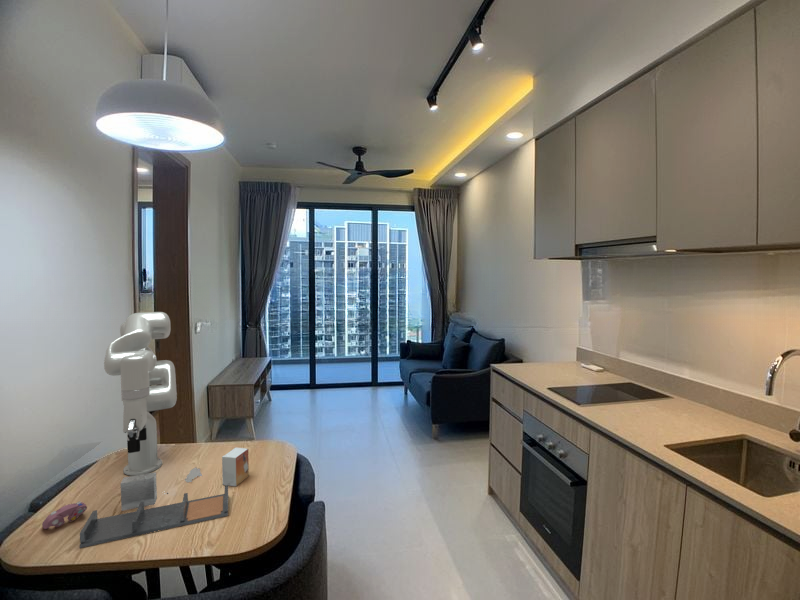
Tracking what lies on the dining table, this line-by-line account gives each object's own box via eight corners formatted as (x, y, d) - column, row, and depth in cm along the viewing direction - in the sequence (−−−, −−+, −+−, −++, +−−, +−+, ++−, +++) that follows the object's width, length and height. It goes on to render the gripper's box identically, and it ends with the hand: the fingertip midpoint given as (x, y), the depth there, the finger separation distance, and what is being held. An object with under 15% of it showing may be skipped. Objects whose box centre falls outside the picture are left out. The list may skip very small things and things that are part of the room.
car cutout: (193, 474, 147) (193, 462, 147) (207, 477, 145) (207, 465, 145) (158, 495, 133) (157, 482, 132) (173, 499, 131) (172, 486, 130)
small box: (236, 487, 137) (235, 458, 137) (222, 485, 138) (221, 456, 138) (249, 475, 145) (248, 448, 145) (235, 474, 146) (235, 446, 146)
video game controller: (45, 538, 112) (48, 520, 110) (40, 526, 114) (43, 509, 112) (86, 520, 121) (90, 503, 119) (81, 509, 123) (84, 493, 121)
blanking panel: (124, 504, 127) (123, 477, 126) (156, 498, 130) (156, 472, 130) (121, 511, 123) (120, 483, 122) (154, 504, 127) (153, 477, 126)
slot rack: (94, 522, 117) (93, 509, 117) (228, 495, 132) (228, 484, 131) (79, 548, 106) (79, 534, 106) (227, 515, 121) (227, 503, 120)
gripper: (128, 388, 131) (130, 438, 132) (114, 402, 115) (116, 459, 116) (154, 385, 134) (156, 434, 135) (143, 399, 118) (145, 454, 119)
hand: (137, 446), depth 125 cm, fingers open, 9 cm apart
